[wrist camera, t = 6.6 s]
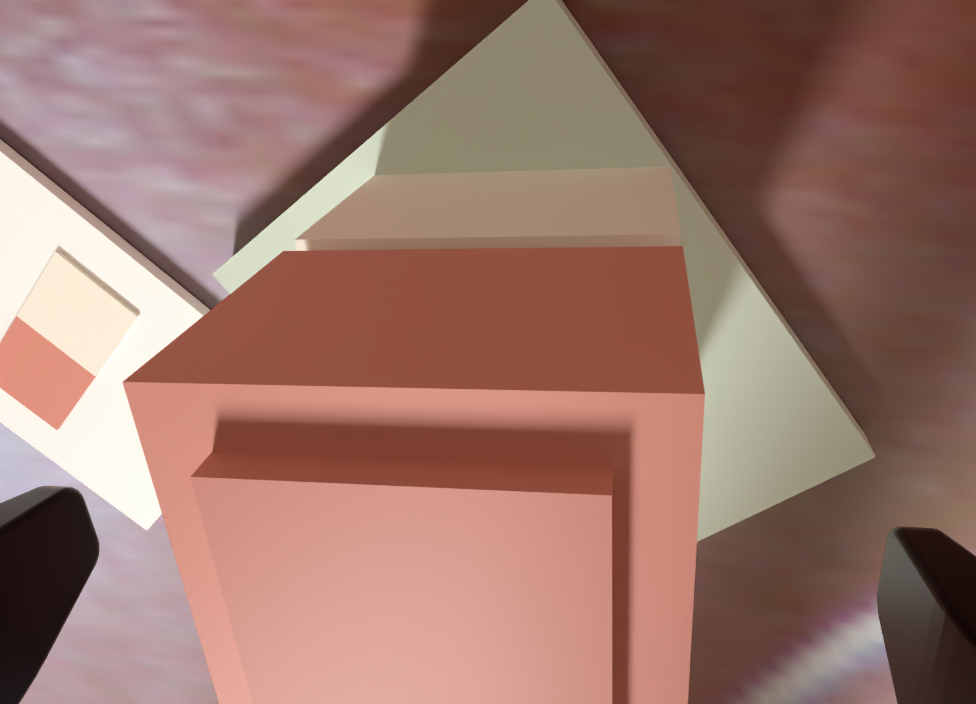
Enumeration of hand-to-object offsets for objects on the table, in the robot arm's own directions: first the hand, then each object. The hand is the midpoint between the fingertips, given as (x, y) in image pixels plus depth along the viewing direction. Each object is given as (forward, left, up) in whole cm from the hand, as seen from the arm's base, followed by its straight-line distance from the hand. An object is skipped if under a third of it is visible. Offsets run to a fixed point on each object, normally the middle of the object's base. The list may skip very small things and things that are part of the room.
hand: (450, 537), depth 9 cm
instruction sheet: (+5, +9, -7) cm, 13 cm away
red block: (0, 0, -2) cm, 2 cm away
